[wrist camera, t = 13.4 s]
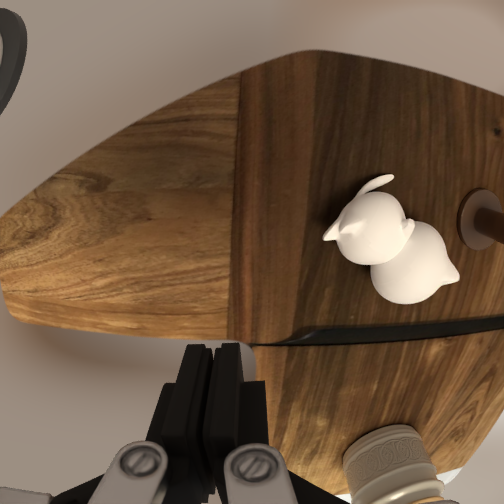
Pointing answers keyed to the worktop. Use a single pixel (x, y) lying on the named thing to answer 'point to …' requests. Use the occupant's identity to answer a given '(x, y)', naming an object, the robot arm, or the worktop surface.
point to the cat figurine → (392, 246)
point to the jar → (391, 468)
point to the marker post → (480, 220)
